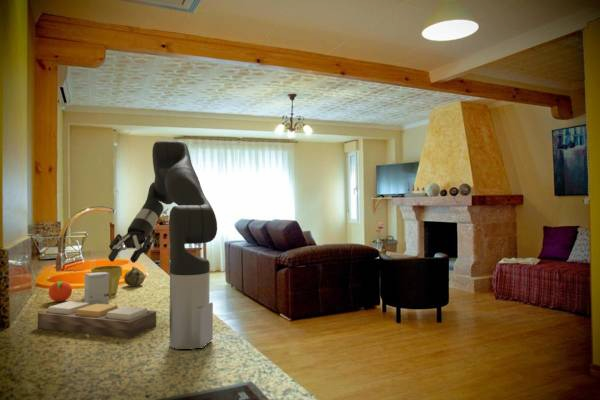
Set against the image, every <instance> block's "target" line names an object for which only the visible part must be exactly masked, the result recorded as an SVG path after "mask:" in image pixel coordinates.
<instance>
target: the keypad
mask: <svg viewBox="0 0 600 400" xmlns="http://www.w3.org/2000/svg"><path fill="white" fill-rule="evenodd" d="M89 306H90V305H89ZM118 308H119V307H117V309H118ZM154 326H155V327H156V326H157V311H156V310H147V314H145V315H142V316H140V317H137V318H135V319H132V320H122V319H112V318H107V315H104V316H101V317H91V316H81V315H77V312H75V313H72V314H60V313H50V312H49V309H48V310H45V311H40V312H37V329H42V330H52V331H61V332H62V331H63V332H69V333H78V334H79V333H80V334H87V335H88V334H89V335H96V336H97V335H98V336H108V337H114V338H122V339H131V338H133V337H135V335H136V336H138V335H139V333H140V334H142V333H144V332H146V331H148V330H151V329H152V327H153V328H154ZM147 329H148V330H147ZM145 330H146V331H145ZM143 331H144V332H143ZM141 332H142V333H141ZM137 334H138V335H137Z"/></svg>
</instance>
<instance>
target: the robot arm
mask: <svg viewBox="0 0 600 400" xmlns="http://www.w3.org/2000/svg"><path fill="white" fill-rule="evenodd" d="M151 152H152V154H151V156H152V165H153V166H152V167H153V172H154V180H153V182H151V184H150V186H149V188H148V192H147V197H146V200H145V202H144V204H143V206H141V208H140V210H139V211H138V212H137V213H136V215H135V217H134V218H133V220H132V221H131V223H130V224H129V226H128V227H127V233H125V235H121V234H120V233H118V234H117V235H116V236H115V238H114V239H113V240H112V242H111V243H110V244H109V246H108V247H109V249H110V250H111V251H110V253H109V255H108V256H107V257H108V260H109V261H110V262H112V263H113V262H115V259H117V257H118V255H119V253H120V252H122V251H125V250H127V249H135V250H134V251H133V253H132V255H131V256H130V259H129V260H130V262H131V263H132V264H133V263H136V262H137V261H138V260H139V258H140V256H141V255H143V253H144V254H148V253H149V251H150V249H151V247H152V245H153V243H154V238H153V237H152V232H153V230H154V229H155V227H156V225H157V222H158V221H159V219H160V216H161V215H162V213H163V212H164V208H165V207H164V205H172V204H173V203H174V204H175V205H173V206H172V207H171V209H170V211H169V216H168V231H169V234H168V235H169V248H170V249H169V258H170V260H169V347H170V348H171V347H172V348H171V349H174V348H175V350H178V349H191V348H201V347H203V346H204V345H205V344H207V343H208V342H210V341H211V340H213V335H214V334H213V333H214V332H213V331H214V329H213V323H214V322H213V321H214V320H213V319H214V313H213V312H214V308H213V307H214V305H213V302H211V301H210V282H211V281H210V280H211V279H210V278H211V277H210V276H211V275H210V272H211V271H210V269H211V268H210V267H211V266H210V260H209V259H207V258H205V257H202V256H197V255H195V254H193V253H190V252H189V251H187V249H186V247H185V245H191V244H193V245H194V244H195V245H196V244H197V245H198V244H208V243H210V242H212V241H214V239H215V238H216V236H217V233H218V222H217V221H218V220H217V217H216V214H215V211H214V209H213V207H212V205H211V204H210V201H209V200H208V199H207V197H206V196H205V194H204V192H203V189H202V186H201V182H200V180H199V177H198V175H197V173H196V170H195V168H194V166H193V163H192V159H191V155H190V151H189V148H188V145H187V144H186V142H184V141H182V140H158V141H155V142H154V144H153V146H152V151H151ZM162 203H163V204H164V205H163V204H162ZM123 244H124V245H123ZM203 348H204V347H203Z"/></svg>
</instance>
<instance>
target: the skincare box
mask: <svg viewBox="0 0 600 400" xmlns="http://www.w3.org/2000/svg"><path fill="white" fill-rule="evenodd" d="M83 293H84V296H83V297H84V303H89V305H94V304H107V305H110V304H109V303H110V300H109V297H110V295H109V273H106V272H97V273H91V272H90V273H89V272H88V273H84V291H83Z"/></svg>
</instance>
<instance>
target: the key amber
mask: <svg viewBox="0 0 600 400" xmlns="http://www.w3.org/2000/svg"><path fill="white" fill-rule="evenodd" d="M117 308H119V306H118V305H116V304H109V305H107V304H94V305H90V306H87V307H84V308H81V309H78V310H77V315H81V316H91V317H101V316H104V315H107V312H110V311H112V310H115V309H117Z"/></svg>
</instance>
